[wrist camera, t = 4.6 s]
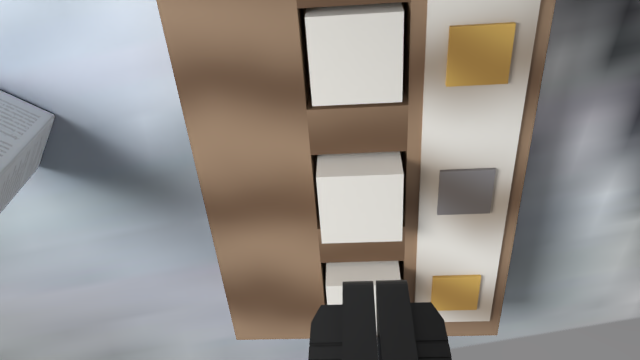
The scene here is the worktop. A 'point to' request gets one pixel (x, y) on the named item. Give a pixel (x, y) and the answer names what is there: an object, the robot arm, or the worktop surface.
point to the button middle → (360, 197)
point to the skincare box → (20, 143)
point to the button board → (360, 151)
